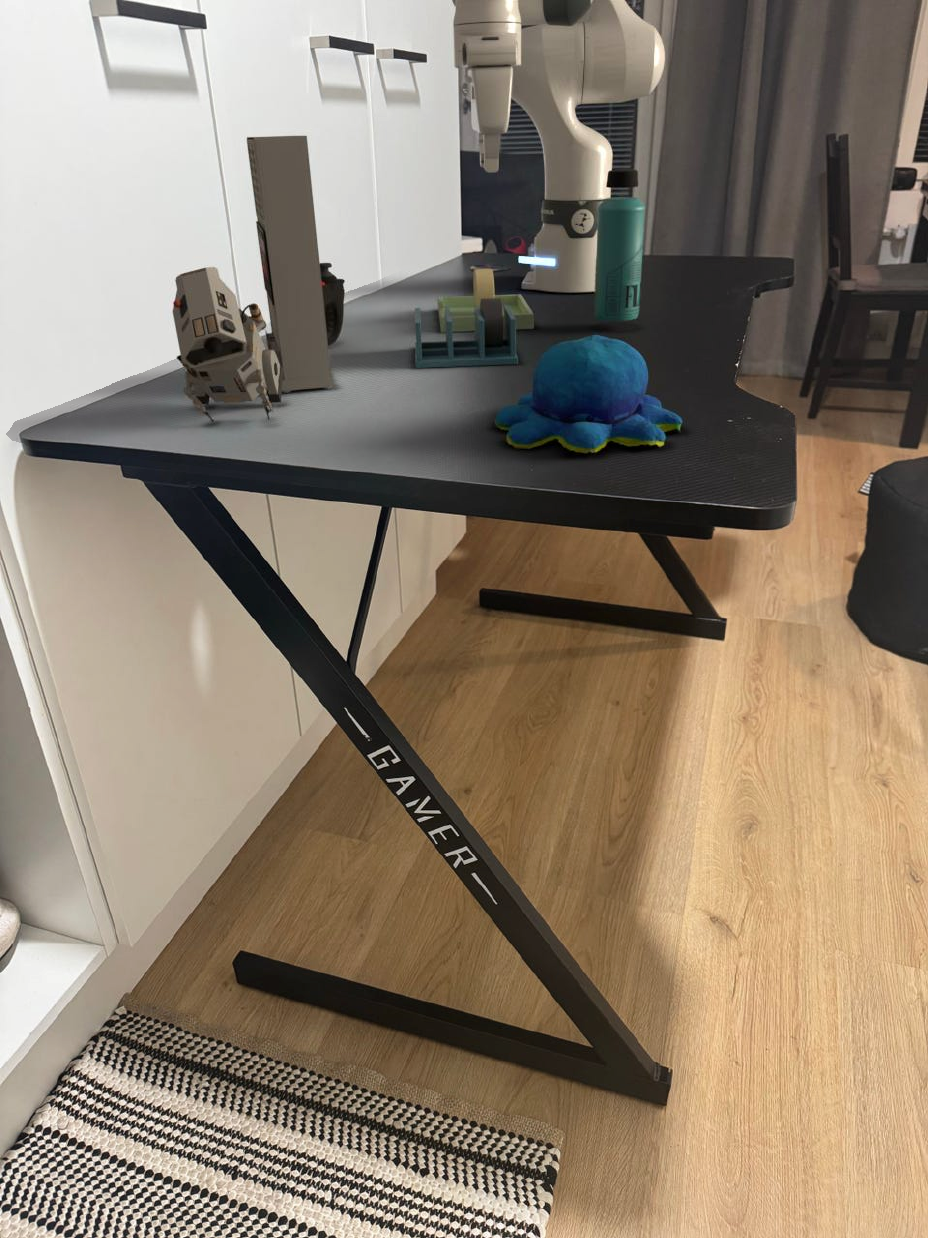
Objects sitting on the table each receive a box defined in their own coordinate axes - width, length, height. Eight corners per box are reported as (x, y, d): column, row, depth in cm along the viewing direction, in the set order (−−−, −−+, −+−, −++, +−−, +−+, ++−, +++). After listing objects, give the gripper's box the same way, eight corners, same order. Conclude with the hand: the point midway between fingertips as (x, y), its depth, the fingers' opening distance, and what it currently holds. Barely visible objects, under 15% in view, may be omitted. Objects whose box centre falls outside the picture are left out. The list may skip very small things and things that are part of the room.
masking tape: (474, 319, 135) (472, 275, 135) (491, 318, 136) (489, 275, 135) (477, 309, 129) (475, 263, 128) (495, 308, 129) (493, 263, 128)
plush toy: (645, 467, 74) (653, 366, 70) (467, 442, 81) (464, 349, 77) (699, 414, 87) (708, 326, 83) (541, 396, 94) (542, 315, 90)
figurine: (193, 451, 92) (143, 352, 78) (203, 363, 96) (158, 256, 83) (280, 449, 92) (246, 349, 78) (287, 361, 96) (255, 253, 83)
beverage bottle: (625, 334, 121) (634, 169, 111) (582, 329, 124) (588, 169, 114) (647, 325, 125) (658, 167, 115) (605, 321, 129) (613, 167, 119)
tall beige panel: (269, 366, 110) (238, 137, 97) (318, 362, 111) (294, 135, 99) (278, 394, 98) (244, 137, 86) (333, 388, 99) (308, 135, 87)
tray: (438, 310, 140) (437, 297, 139) (520, 307, 140) (520, 294, 140) (440, 332, 125) (440, 317, 124) (533, 328, 125) (533, 314, 125)
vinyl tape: (480, 345, 114) (479, 296, 111) (499, 344, 114) (498, 295, 111) (484, 352, 109) (483, 300, 106) (503, 351, 109) (503, 300, 106)
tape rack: (415, 348, 116) (413, 307, 114) (509, 344, 117) (509, 303, 114) (415, 368, 107) (413, 323, 104) (517, 364, 107) (518, 319, 105)
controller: (353, 337, 124) (347, 260, 119) (315, 357, 113) (306, 274, 108) (325, 336, 125) (318, 260, 120) (285, 355, 114) (274, 274, 110)
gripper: (460, 56, 125) (463, 165, 132) (467, 48, 107) (470, 175, 114) (504, 54, 125) (505, 164, 132) (519, 46, 107) (518, 173, 114)
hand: (489, 169), depth 123 cm, fingers open, 8 cm apart
